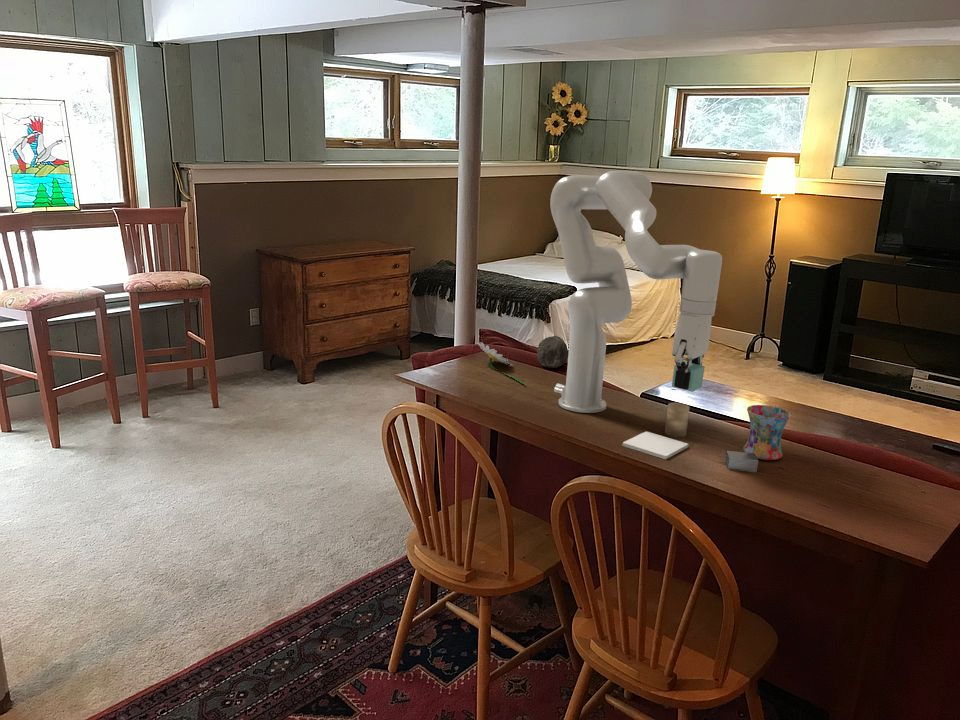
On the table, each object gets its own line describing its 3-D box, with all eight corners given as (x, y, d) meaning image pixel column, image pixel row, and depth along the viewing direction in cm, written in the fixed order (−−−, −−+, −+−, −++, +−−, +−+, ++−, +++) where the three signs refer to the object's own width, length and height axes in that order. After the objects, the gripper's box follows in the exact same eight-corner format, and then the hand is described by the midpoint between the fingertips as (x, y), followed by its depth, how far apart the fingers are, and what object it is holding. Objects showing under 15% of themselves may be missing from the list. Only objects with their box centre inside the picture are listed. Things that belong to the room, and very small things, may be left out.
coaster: (622, 445, 174) (622, 442, 174) (645, 434, 182) (646, 431, 182) (665, 459, 168) (666, 456, 167) (688, 447, 176) (688, 443, 175)
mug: (768, 466, 167) (775, 420, 164) (732, 452, 174) (738, 408, 171) (798, 456, 174) (806, 412, 171) (762, 443, 181) (769, 400, 178)
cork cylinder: (661, 432, 184) (664, 405, 182) (670, 428, 188) (674, 401, 186) (680, 438, 181) (683, 410, 179) (689, 433, 185) (693, 406, 183)
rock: (542, 368, 232) (546, 336, 231) (530, 363, 243) (534, 332, 242) (572, 371, 235) (576, 339, 234) (559, 366, 246) (563, 335, 245)
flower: (516, 368, 212) (474, 333, 237) (505, 384, 213) (464, 347, 238) (547, 388, 219) (503, 352, 244) (536, 403, 220) (493, 365, 245)
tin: (727, 470, 164) (729, 457, 163) (724, 463, 168) (726, 450, 167) (756, 473, 163) (758, 460, 162) (752, 466, 167) (754, 453, 166)
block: (671, 386, 172) (674, 365, 170) (681, 382, 175) (683, 361, 174) (692, 391, 169) (695, 370, 167) (701, 387, 172) (704, 366, 171)
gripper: (697, 299, 176) (686, 374, 181) (664, 308, 163) (654, 389, 168) (728, 305, 171) (716, 381, 176) (697, 315, 158) (686, 397, 163)
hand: (686, 384), depth 172 cm, fingers closed on block, 5 cm apart
